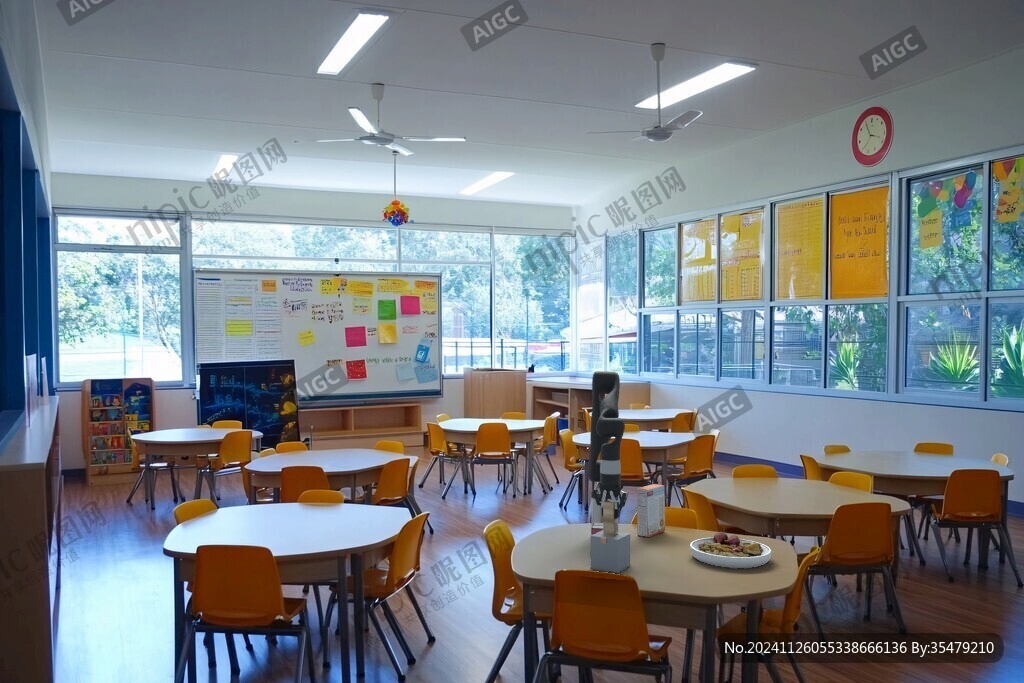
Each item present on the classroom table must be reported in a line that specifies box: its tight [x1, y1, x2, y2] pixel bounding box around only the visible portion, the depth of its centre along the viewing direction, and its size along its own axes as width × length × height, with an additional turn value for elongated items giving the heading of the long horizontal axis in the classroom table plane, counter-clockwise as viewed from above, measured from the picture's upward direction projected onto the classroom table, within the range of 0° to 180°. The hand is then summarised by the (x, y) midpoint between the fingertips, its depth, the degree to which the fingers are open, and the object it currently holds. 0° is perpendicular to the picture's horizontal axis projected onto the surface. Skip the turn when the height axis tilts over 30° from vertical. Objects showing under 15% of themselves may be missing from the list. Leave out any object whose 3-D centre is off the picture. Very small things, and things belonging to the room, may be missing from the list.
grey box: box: [590, 530, 631, 574], centre depth 278 cm, size 12×11×12 cm
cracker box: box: [636, 483, 666, 538], centre depth 329 cm, size 14×6×21 cm, turn 136°
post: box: [603, 500, 619, 537], centre depth 278 cm, size 4×4×24 cm
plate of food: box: [689, 531, 772, 569], centre depth 289 cm, size 30×30×8 cm
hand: (610, 517), depth 278 cm, fingers closed on post, 4 cm apart
